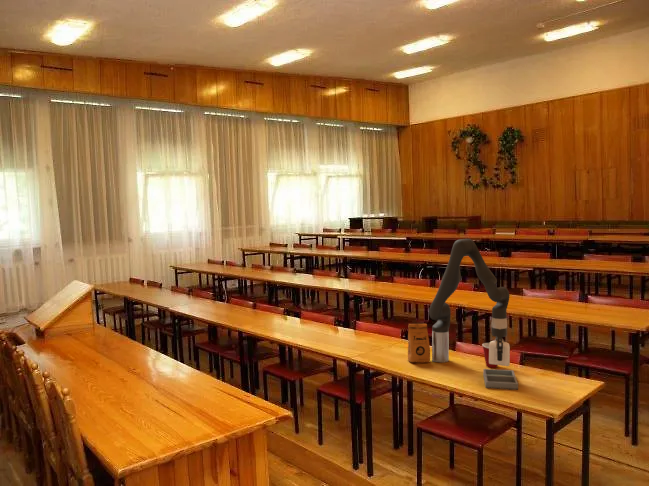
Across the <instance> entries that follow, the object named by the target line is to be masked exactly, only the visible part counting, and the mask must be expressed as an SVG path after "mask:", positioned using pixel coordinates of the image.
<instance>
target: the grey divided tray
mask: <svg viewBox="0 0 649 486" xmlns="http://www.w3.org/2000/svg"><path fill="white" fill-rule="evenodd" d="M482 370H483V371H482V372H483V380H484V386H485V389H496V390H497V389H499V390H511V391H512V390H513V391H514V390H517V391H518V390H519V382H518V380H517V377H516V374H515V370H512V369H511V370H510V369H496V368H483V369H482Z"/></svg>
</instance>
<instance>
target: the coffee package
mask: <svg viewBox="0 0 649 486" xmlns="http://www.w3.org/2000/svg"><path fill="white" fill-rule="evenodd" d="M407 327H408V333H407V342H408V343H407V360H408V361H409V363H423V364H425V363H430V360H431V347H430V339H429V333H428V324H427V323H408V326H407Z"/></svg>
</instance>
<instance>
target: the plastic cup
mask: <svg viewBox="0 0 649 486" xmlns="http://www.w3.org/2000/svg"><path fill="white" fill-rule="evenodd" d="M489 344H490V342H483V343H482V344H481V345H482V350H483V356H484V361H485V366H486V368H488V369H496V368H498V366H499V365H495V364H489Z"/></svg>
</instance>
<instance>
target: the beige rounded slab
mask: <svg viewBox="0 0 649 486" xmlns="http://www.w3.org/2000/svg"><path fill="white" fill-rule="evenodd" d="M489 343H490V344H489V364H495V365H498V366H501V367H502V366H504V367H509V366H510V364H511V363H510V359H511V358H510V356H511V355H510V353H511V348H510V343H509V342H507V341H504V343H503V353H502V361H498V360H497V349H496V343H495V340H492V341H490V342H489ZM497 347H498V346H497ZM499 351H501V349H499Z"/></svg>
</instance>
